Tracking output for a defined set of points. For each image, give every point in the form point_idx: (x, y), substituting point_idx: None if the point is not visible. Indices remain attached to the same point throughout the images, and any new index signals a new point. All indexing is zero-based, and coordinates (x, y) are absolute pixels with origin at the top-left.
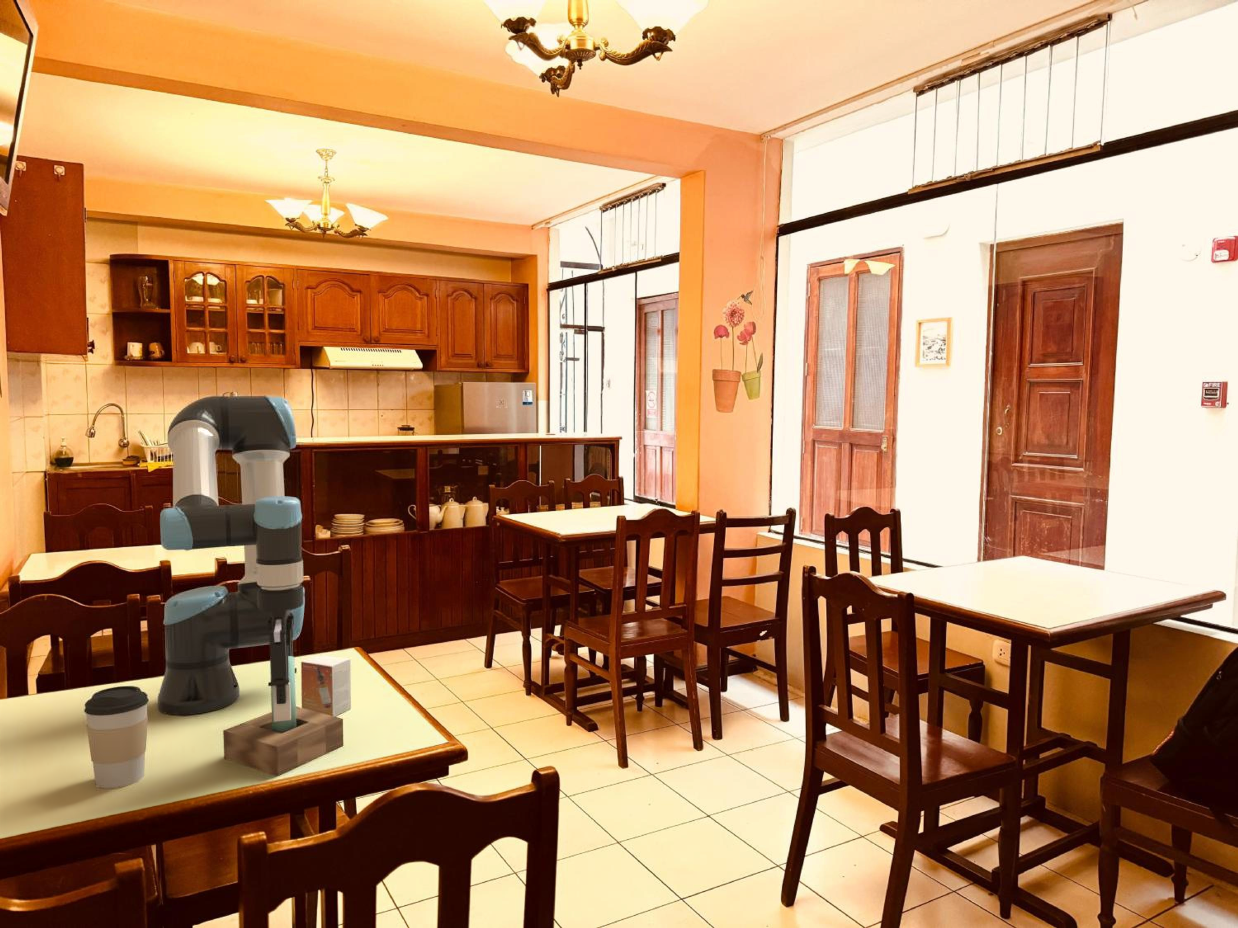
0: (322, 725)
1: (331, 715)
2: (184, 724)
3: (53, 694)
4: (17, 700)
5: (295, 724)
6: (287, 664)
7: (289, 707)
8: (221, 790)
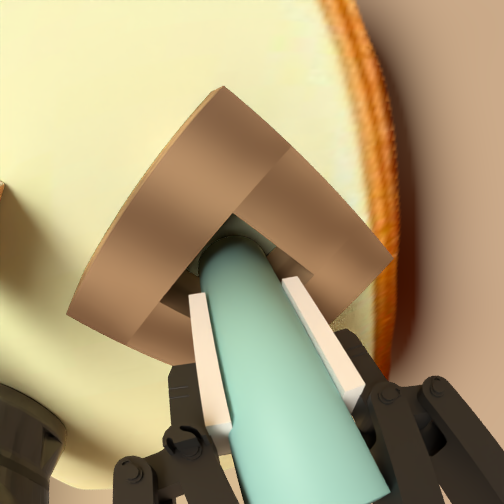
0: (282, 157)
1: (1, 188)
2: (91, 419)
3: (59, 479)
4: (79, 488)
5: (246, 254)
6: (431, 464)
7: (315, 307)
8: (370, 300)
